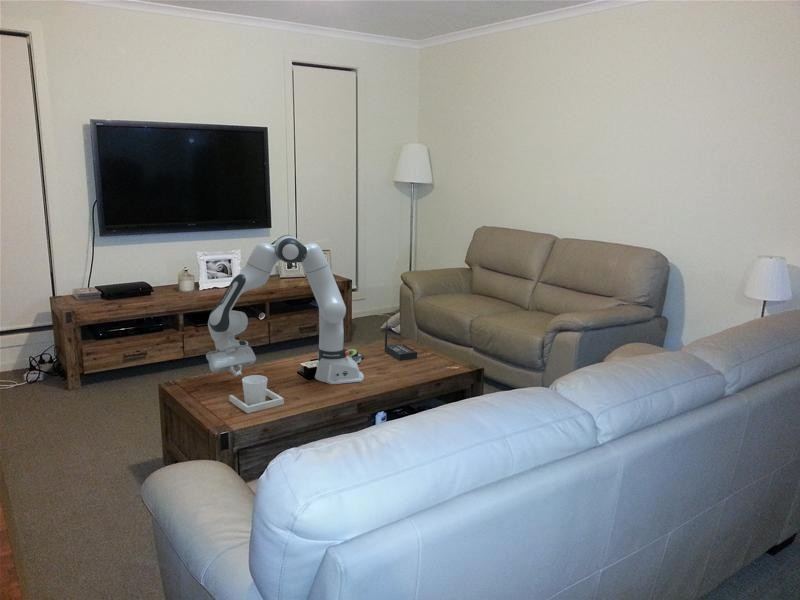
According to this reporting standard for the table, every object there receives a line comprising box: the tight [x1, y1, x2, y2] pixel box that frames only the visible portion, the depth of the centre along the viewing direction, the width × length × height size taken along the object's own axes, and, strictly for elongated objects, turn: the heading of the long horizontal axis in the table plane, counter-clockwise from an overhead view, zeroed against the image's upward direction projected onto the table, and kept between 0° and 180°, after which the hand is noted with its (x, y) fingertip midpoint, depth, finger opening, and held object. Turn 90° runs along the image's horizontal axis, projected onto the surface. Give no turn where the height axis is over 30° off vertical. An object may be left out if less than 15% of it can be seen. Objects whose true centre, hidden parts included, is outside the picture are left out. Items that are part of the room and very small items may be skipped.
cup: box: [241, 374, 268, 406], centre depth 252 cm, size 10×10×10 cm
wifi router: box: [384, 318, 418, 361], centre depth 324 cm, size 20×14×17 cm
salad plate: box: [347, 348, 365, 365], centre depth 310 cm, size 19×18×5 cm
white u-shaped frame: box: [228, 388, 285, 414], centre depth 253 cm, size 15×16×2 cm
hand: (238, 375), depth 264 cm, fingers closed
